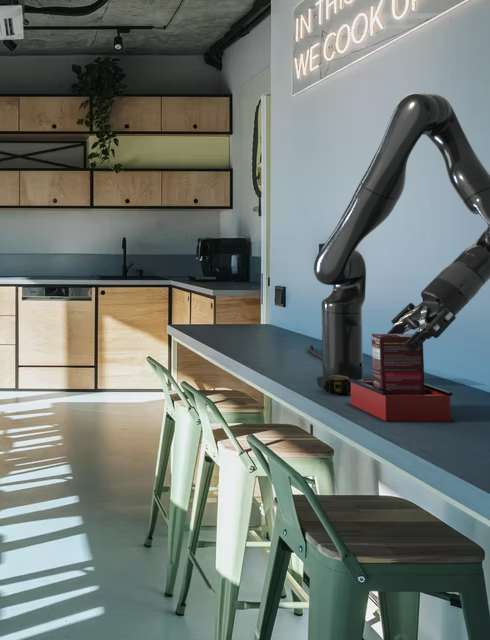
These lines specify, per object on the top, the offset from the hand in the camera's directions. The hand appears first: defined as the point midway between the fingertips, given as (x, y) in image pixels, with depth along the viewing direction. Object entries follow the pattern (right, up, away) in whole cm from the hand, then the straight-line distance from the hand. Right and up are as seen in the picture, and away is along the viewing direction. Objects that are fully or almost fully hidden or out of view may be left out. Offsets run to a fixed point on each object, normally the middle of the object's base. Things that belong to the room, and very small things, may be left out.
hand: (397, 345), depth 150 cm
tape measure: (-5, -15, +18) cm, 24 cm away
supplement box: (0, -14, -1) cm, 14 cm away
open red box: (0, -14, -1) cm, 14 cm away
